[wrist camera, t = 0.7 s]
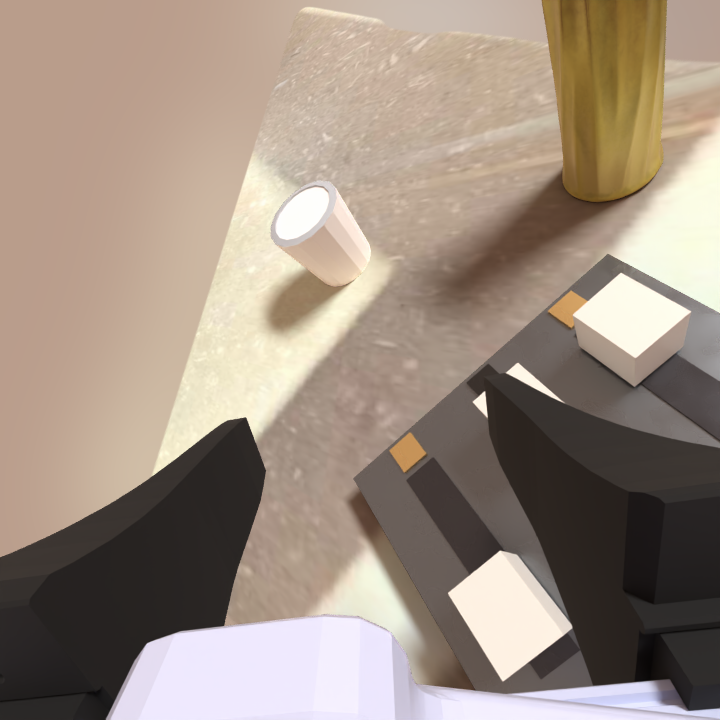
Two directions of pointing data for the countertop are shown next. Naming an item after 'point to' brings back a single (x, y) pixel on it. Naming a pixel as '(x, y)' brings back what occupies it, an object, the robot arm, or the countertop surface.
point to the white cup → (321, 234)
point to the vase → (608, 92)
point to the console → (490, 485)
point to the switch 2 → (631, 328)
